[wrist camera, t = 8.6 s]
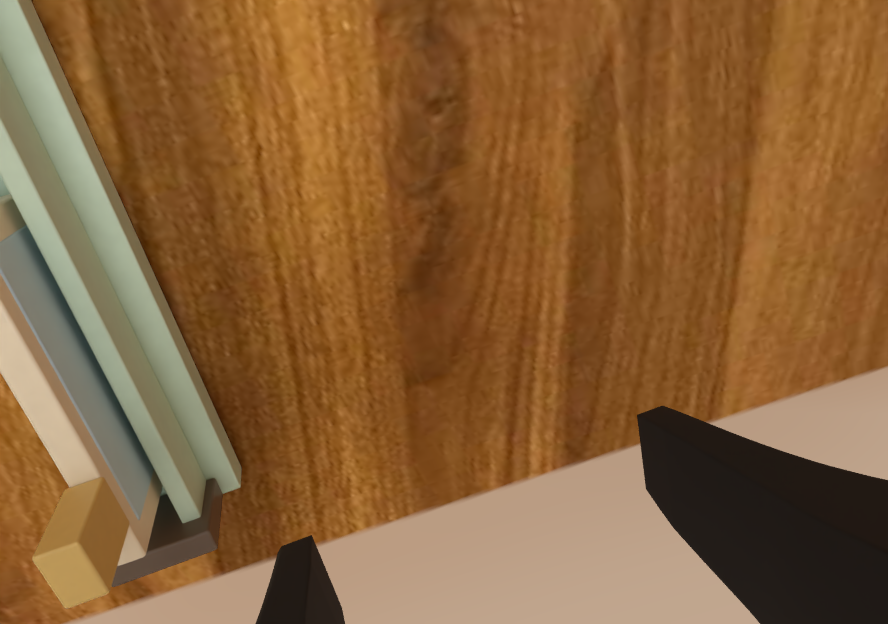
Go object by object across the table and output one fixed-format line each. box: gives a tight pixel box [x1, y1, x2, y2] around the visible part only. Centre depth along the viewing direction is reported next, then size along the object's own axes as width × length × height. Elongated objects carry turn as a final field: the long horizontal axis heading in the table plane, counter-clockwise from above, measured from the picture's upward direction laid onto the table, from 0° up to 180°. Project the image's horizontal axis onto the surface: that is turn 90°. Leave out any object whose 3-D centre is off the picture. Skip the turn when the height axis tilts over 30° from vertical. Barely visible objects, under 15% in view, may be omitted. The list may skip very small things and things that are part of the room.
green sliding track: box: [0, 0, 242, 587], centre depth 16 cm, size 21×4×4 cm, turn 13°
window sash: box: [0, 194, 163, 609], centre depth 16 cm, size 10×1×6 cm, turn 13°
